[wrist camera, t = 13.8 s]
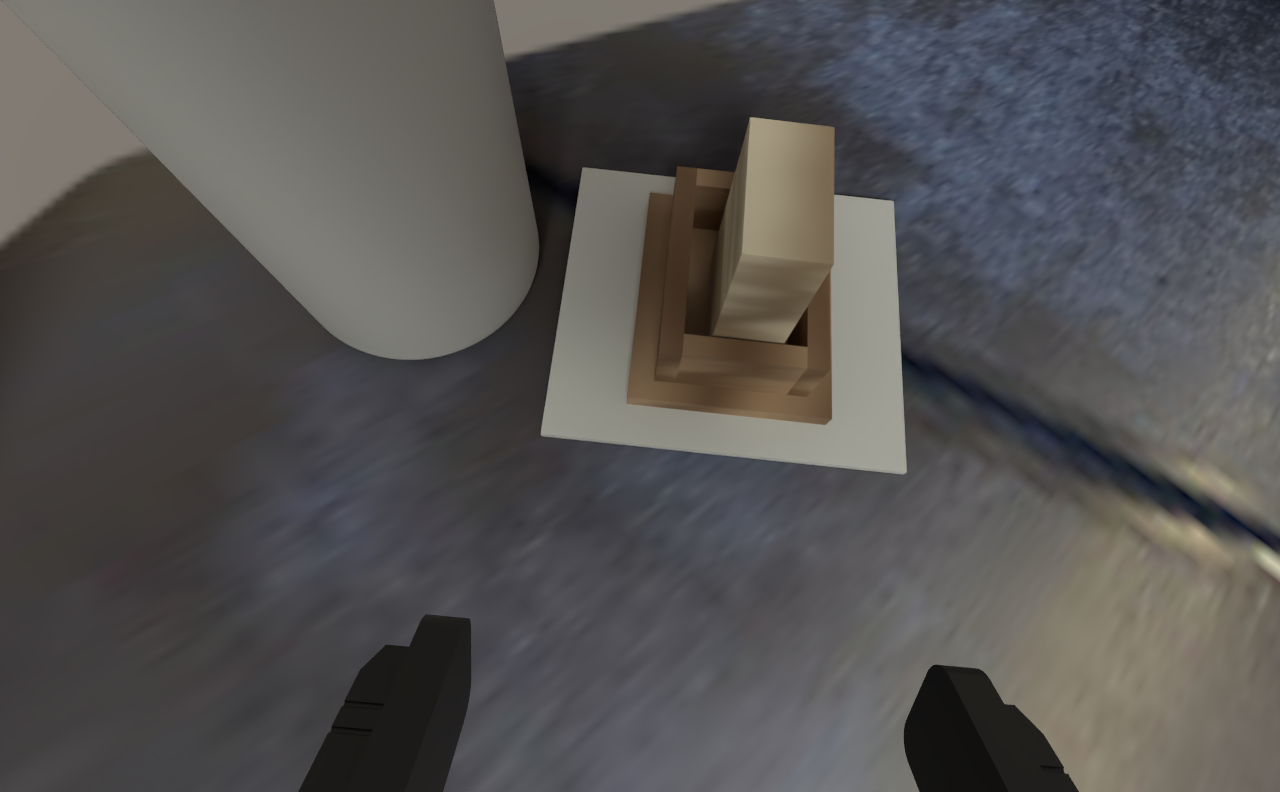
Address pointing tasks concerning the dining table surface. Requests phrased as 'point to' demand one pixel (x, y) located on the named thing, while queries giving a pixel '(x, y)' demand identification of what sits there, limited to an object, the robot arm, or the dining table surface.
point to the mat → (598, 411)
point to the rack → (676, 318)
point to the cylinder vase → (331, 148)
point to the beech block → (773, 232)
